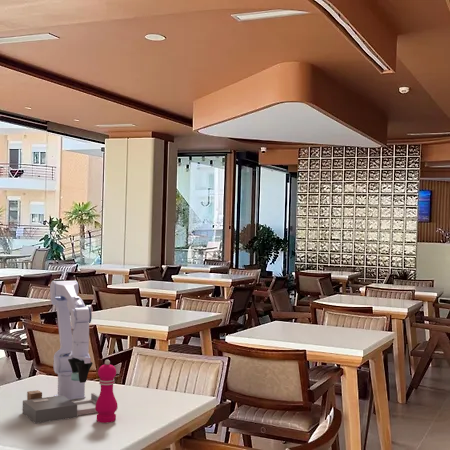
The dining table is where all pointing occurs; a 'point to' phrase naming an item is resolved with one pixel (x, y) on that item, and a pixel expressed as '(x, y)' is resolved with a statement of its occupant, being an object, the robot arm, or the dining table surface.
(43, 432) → the dining table surface
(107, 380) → the pepper mill
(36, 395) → the walnut block
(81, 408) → the tray
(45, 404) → the box
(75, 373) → the disc
